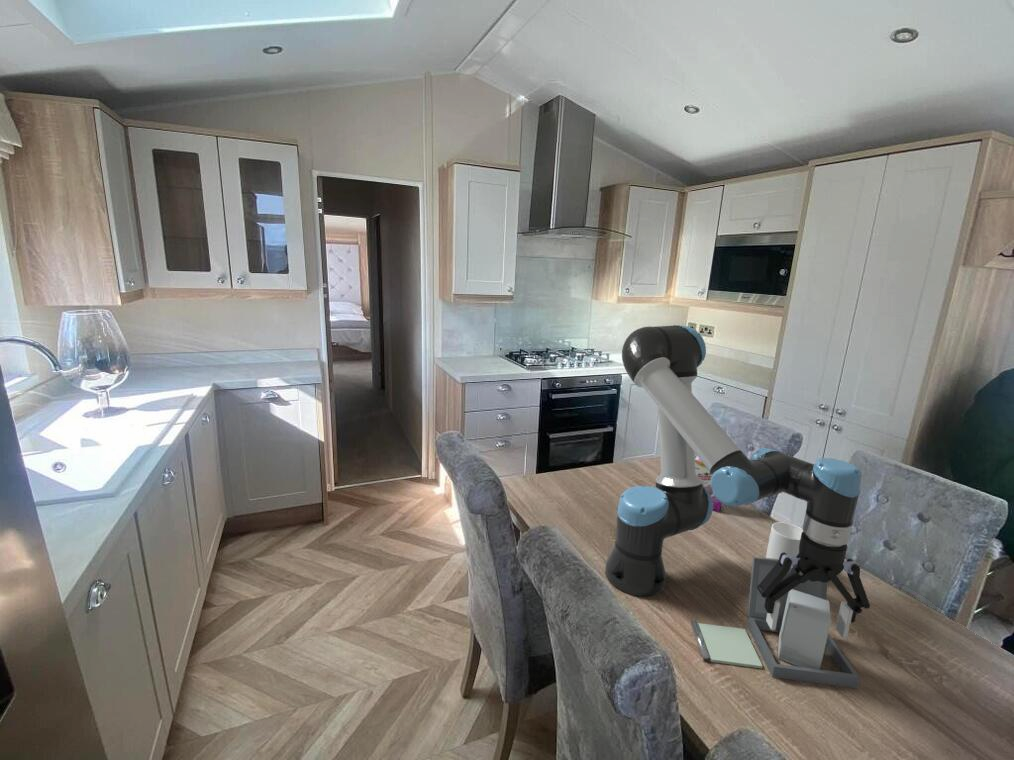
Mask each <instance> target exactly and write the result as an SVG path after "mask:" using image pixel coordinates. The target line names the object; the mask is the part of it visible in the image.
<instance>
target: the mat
mask: <svg viewBox="0 0 1014 760" xmlns="http://www.w3.org/2000/svg"><path fill="white" fill-rule="evenodd" d="M697 624H698V627H699V629H700V632H701V635H702V638H703V641H704V643H705V646H706V649H707V652H708V655H709V658H710V659H709V661H710V663H716V664H717V663H718V664H726V665H732V666H740V667H746V668H756V669H763V666H764V665H763V663H762V662H761V660H760V657H759V656H758V654H757V652H756V650H755V647H754V645H753V643H752V641H751V639H750V637H749V635H748V632H747V631H746V629H745V628H740V627H731V626H724V625H715V624H710V623H709V624H708V623H701V622H700V623H699V622H697Z"/></svg>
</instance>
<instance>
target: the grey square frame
mask: <svg viewBox="0 0 1014 760" xmlns="http://www.w3.org/2000/svg"><path fill="white" fill-rule="evenodd" d="M747 618H748V620H747V625H746V627H747V629H748V631H749V632H750V635H751V637H752V639H753V640H754V643H755V645H756V647H757V650H758V651H759V653H760V655H761V657H762V659H763V661H764V664H765V665H766V668H767V670H768V672H769V673H770V676H771V677H772V678H776V679H784V680H791V681H792V680H793V681H798V682H799V681H800V682H806V683H814V684H821V685H829V686H835V687H843V688H844V687H845V688H852V689H858V687H859V683H860V681H861V680H860V679H861V678H860V675H858V672H856V670H855V669H854V667H853V666H852V664H851V663H850V662H849V660H848V658H847V657H846V656H845V655H844V653H843V652H842V651H841V649H840V647H839V646H838V645H837V643H836V642H835V640H834V639H833V638H832V636H831V635H830V632H829V633H828V637H827V641H826V646H825V649H826V651H827V652H828V653H829V655H830V656H831V658H832V659H833V661H834V663H835V664H836V665H837V667H838V668H839V670H840V671H834V670H825V669H820V670H819V669H812V668H804V667H798V666H796V665H788V664H779V663H777V661H776V660H775V658H774V655H773V654H772V652H771V650H770V648H769V645H768V643H767V642H766V640H765V639H764V636H763V635H762V632H761V631H764V632H765V631H766V632H773V633H780V630H781V626H782V621H781V620H777V624H776V629H775V630H771V629H770V627H769V625H768V623H767V621H766V619H765V618H756V617H749V616H748V617H747Z"/></svg>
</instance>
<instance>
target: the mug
mask: <svg viewBox="0 0 1014 760" xmlns="http://www.w3.org/2000/svg"><path fill="white" fill-rule="evenodd" d="M802 532H803V527H800V526H798V525H795V524H793V523H789V522H782V521H781V522H779V521H777V522H774V523H773V524H771V529H770V534H769V538H768V543H767V544H768V545H767V548H766V549H767V550H766V555H765V558H771V559H779V557H780V554H781V553H783V552H784V553H786V554H787V555H788V556H792V557H796V556H797V555H798V554H799V544H800V539H801V534H802Z"/></svg>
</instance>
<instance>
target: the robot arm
mask: <svg viewBox="0 0 1014 760" xmlns="http://www.w3.org/2000/svg"><path fill="white" fill-rule="evenodd" d="M706 355H707V346H706V343H705V340H704V338H703V336H702V335H701V334H700V333H699V332H698V331H697V330H696V329H695V328H693V327H691V326H687V325H679V324H677V325H676V324H674V325H658V326H643V327H640V328H637V329H636V330H634V331H632V332H631V333H630V334H629V335H628V336H627V338H626V339H625V341H624V343H623V345H622V350H621V360H622V364H623V367H624V370H625V372H626V373H627V375H628V376H629V379H630V380H631V381H632V382H633V383H634V385H635V386H636V387H638V388H643V389H644V390H645V392H646V393H647V394H648V396H649V397H650V398H651V399H652V400H653V402H654V403H655V404H656V405H657V415H658V435H659V436H658V437H659V453H660V454H659V455H660V456H659V458H660V474H659V475H658V476H657V477H656V478H655V487H654V486H648V485H646V486H643V485H637V486H632V487H629V488H627V489H626V490H624V491H623V493H621V495H620V497H619V501H618V503H619V504H618V506H617V516H616V517H617V518H616V527H615V539H614V545H613V547H612V549H611V551H610V552H609V555H608V557H607V559H606V561H605V568H604V569H605V570H604V573H605V577H606V579H607V580H608V582H609V583H610V584H611V585H612V586H614V587H615V588H616V589H618V590H620V591H622V592H624V593H626V594H629V595H633V596H639V597H649V596H654V595H658V594H659V593H661V592H662V591H663V590H664V588H665V586H666V581H667V580H666V578H667V572H666V569H665V564H664V560H663V556H662V555H663V554H662V552H663V545H664V540H665V539H667V538H670V537H674V536H676V535H680V534H682V533H685V532H688V531H689V532H690V531H694V530H696V529H698V528H700V527H701V526H703V525H705V524H706V523H707V522H708V521H709V520H710V519H711V517H712V514H713V512H714V511H713V502H712V498H711V495H710V494H708V492H707V491H708V490H707V489H706V487H704V486H703V485H702V480H701V479H700V478H699V477H698V476H697V475H696V473H695V456H698V457H699V458H700V460H701V461H702V462H703V463H704V465H705V466H706V467H707V469H708V470H709V471H710V472H711V474H712V477H711V482H710V485H711V487H712V490H713V494H714V496H715V497H716V498H717V500H718V501H720V502H721V503H723V506H724V505H725V506H727V507H732V508H734V507H735V508H736V507H741V506H747V505H750V504H754V503H755V502H757V501H761V500H763V499H765V498H770V497H773V496H775V495H779V494H783V493H784V494H787V495H789V496H792V497H793V498H797V499H799V500H802V501H805V502H806V509H805V513H804V520H803V524H802V529H803V532H802V534H801V539H800V544H799V554H798V555H797V556H796V557H792V556H788V555H787V554H786V553H784V552H783V553H781V554H780V557H779V560H778V562H777V564H776V565H775V566H774V567H773V568H772V570H771V571H770V572H769V573H768V574H767V576H766V577H765V578H764V579H763V580H762V582H761V583H760V584H759V585H758V586H757V589H758V590H759V592H760V594H761V595H762V597H763V598H766V600H765V605H764V607H765V609H766V611H767V618H766V621H767V623H768V625H769V627H770V629H771V630H775V629H776V624H777V618H778V613H779V608H780V602H779V600H778V599H779V598H781V597H782V596H783V595H785V594H786V593H788V592H789V591H790V590H792V589H793V588H794V587H796V586H797V585H799V584H800V583H805V582H806V581H808V580H810V581H813V582H815V581H820V582H823V583H827V582H828V583H829V582H830V581H831V582H832V584H833V585H834V586H835V588H836V589H837V590H838V592H839V593H840V594H841V595H842V597H843V599H844V600H845V601H841V602H840V607H839V611H838V616H837V620H836V623H835V624H836V625H835V630H836V632H837V633H838V634H839V635H840V637H841V638H842V639H844V640H845V639H848V635H849V630H850V627H851V623H854V622H855V621H856V618H857V614H861V613H862V612H863V609H866V610H868V609H871V608H870V607H871V604H870V602H869V599H868V596H867V593H866V590H865V587H864V585H863V582H862V579H861V576H860V574H861V567H860V566H859V565H858V564H857V562H856V561H854V559H852V558H848V559H846V556H847V555H846V554H847V550H848V545H847V544H848V543H849V539H850V536H851V530H852V526H853V523H854V521H853V520H854V517H855V512H856V510H857V504H858V500H859V497H860V495H861V487H862V486H861V483H862V478H863V477H862V476H863V475H862V471H861V469H860V468H859V467H858V466H856V465H855V464H853V463H851V462H848V461H846V460H842V459H841V460H840V459H836V458H832V457H825V458H824V457H822V458H819V459H817V460H816V461H815V463H811V462H809V461H804V460H803V459H800V458H797V457H794V456H792V455H789V454H786V453H784V452H782V451H780V450H775V449H770V448H768V447H762V448H758V449H757V450H756V451H755V452H753V453H752V454H751V455H750V458H748V457H747V455H746V454H745V453H744V452H743V451H742V449H740V447H739V446H738V444H736V443H735V441H734V440H733V439H732V437H730V436H729V435H728V433H727V432H726V431H725V430H724V428H723V427H722V426H721V425H720V424H719V423H718V422H717V421H716V419H715V418H714V417H713V416H712V415H711V414H710V412H709V411H708V410H707V409H706V408H705V407H704V405H703V404H702V403H701V402H700V401H699V400H698V399H697V398H696V396H695V395H694V394H693V392H692V391H693V390H692V387H693V385H692V383H693V382H694V381H695V379H697V377H698V367H700V366H701V365H702V363H703V361H705V359H706ZM845 560H846V561H845ZM795 564H797V565H796V566H795V567H793V565H795ZM790 568H791V572H790V573H788V572H789V570H790ZM800 571H801V572H802V574H803V575H800V574H799V572H800ZM843 571H845V572H846V574H847V576H848V580H849V582H850V585H851V587H852V588H851V589H852V591H853V593H854V596H855V597H853V596H852V595H851V593H850V592H849V591H848V589H847V588H846V586H844V584H843V582H842V581H841V579H840V578H839V577H838V575H839V574H841V572H843ZM787 573H788V574H787ZM786 574H787V575H786ZM785 575H786V576H785ZM862 608H863V609H862Z"/></svg>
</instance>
